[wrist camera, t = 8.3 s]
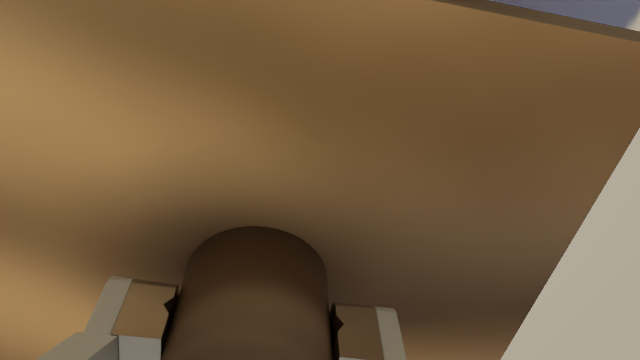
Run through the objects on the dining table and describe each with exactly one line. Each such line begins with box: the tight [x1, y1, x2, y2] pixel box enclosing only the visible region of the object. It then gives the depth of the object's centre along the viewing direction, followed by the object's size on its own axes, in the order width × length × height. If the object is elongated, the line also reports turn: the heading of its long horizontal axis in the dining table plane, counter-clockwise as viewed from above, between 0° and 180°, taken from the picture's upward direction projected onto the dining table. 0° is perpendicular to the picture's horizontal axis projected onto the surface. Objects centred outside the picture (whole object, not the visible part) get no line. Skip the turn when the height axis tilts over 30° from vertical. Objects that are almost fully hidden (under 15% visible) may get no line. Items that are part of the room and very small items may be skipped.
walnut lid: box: [0, 0, 640, 360], centre depth 12 cm, size 15×15×5 cm
